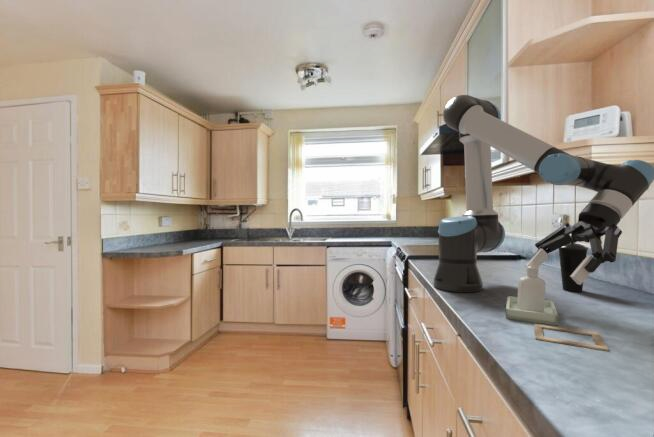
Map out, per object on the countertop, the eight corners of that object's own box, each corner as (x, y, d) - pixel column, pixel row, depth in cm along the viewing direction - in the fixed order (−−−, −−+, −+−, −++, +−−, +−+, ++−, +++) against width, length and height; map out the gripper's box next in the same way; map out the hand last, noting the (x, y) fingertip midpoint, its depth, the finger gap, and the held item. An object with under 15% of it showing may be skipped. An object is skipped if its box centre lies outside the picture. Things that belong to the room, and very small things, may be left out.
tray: (505, 318, 75) (505, 308, 75) (507, 304, 87) (507, 296, 87) (558, 325, 70) (558, 315, 70) (552, 309, 81) (552, 300, 81)
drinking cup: (593, 294, 96) (593, 227, 95) (562, 292, 98) (562, 227, 98) (581, 288, 103) (581, 226, 103) (553, 286, 105) (553, 226, 105)
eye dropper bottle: (517, 305, 82) (519, 259, 81) (544, 309, 79) (546, 261, 78) (516, 310, 78) (518, 262, 77) (544, 315, 75) (546, 265, 74)
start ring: (535, 339, 63) (535, 337, 63) (534, 325, 71) (534, 323, 71) (608, 351, 58) (608, 349, 58) (598, 334, 65) (598, 332, 65)
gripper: (672, 224, 68) (611, 298, 67) (569, 221, 93) (522, 275, 91) (650, 199, 67) (588, 274, 66) (552, 203, 92) (505, 257, 91)
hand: (550, 275), depth 79 cm, fingers open, 13 cm apart
